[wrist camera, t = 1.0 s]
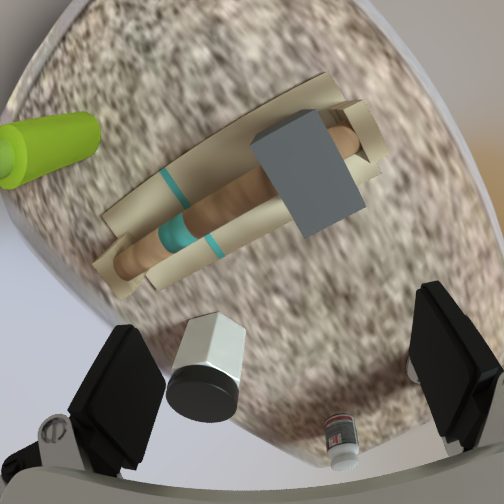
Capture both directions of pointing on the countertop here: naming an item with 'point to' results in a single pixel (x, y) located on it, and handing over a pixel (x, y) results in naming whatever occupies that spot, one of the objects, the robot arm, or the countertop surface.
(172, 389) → the jar
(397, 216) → the countertop surface
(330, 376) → the countertop surface
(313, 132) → the collar
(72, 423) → the robot arm
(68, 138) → the soap dispenser
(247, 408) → the countertop surface
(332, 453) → the pill bottle
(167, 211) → the pipe rig
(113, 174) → the countertop surface
